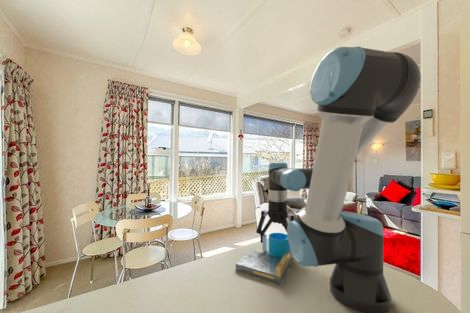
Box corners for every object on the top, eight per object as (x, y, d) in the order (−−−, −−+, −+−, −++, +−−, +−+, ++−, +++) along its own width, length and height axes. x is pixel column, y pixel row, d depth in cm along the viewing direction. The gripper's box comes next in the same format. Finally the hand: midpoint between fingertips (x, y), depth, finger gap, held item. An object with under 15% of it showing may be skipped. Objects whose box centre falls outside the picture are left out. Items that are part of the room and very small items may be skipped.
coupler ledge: (290, 266, 74) (290, 252, 74) (280, 285, 63) (280, 269, 63) (250, 255, 82) (250, 243, 82) (235, 270, 71) (235, 256, 71)
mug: (293, 261, 78) (293, 239, 78) (272, 262, 77) (272, 241, 77) (281, 247, 90) (281, 229, 90) (263, 248, 89) (263, 229, 89)
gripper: (308, 201, 81) (308, 256, 81) (255, 195, 93) (255, 244, 92) (305, 205, 75) (304, 265, 75) (248, 198, 86) (248, 250, 86)
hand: (277, 253), depth 84 cm, fingers open, 10 cm apart
